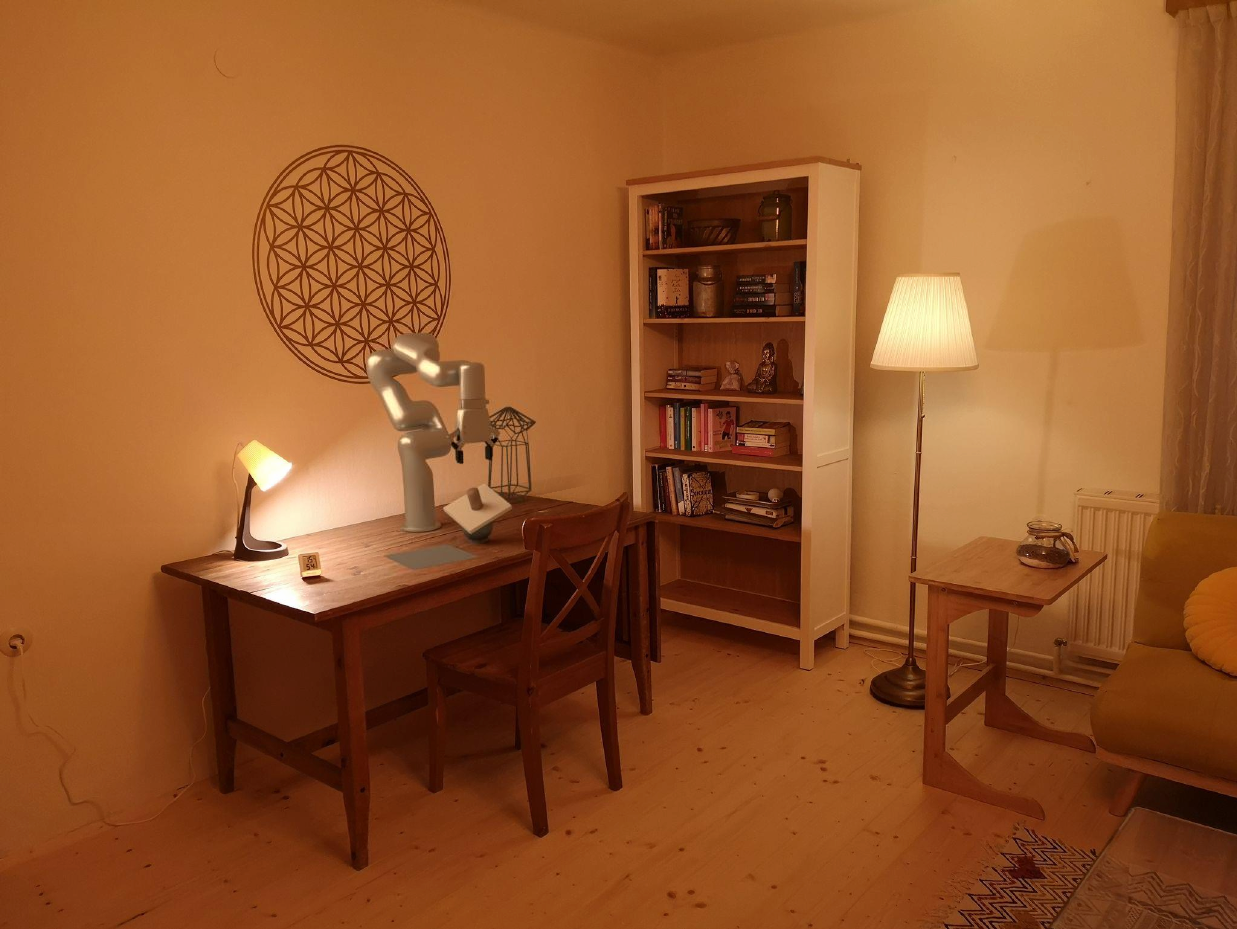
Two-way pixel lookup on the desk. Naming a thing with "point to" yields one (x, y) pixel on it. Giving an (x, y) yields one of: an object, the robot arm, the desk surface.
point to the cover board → (477, 516)
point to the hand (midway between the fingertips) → (474, 461)
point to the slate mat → (430, 556)
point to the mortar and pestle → (479, 533)
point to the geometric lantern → (532, 422)
